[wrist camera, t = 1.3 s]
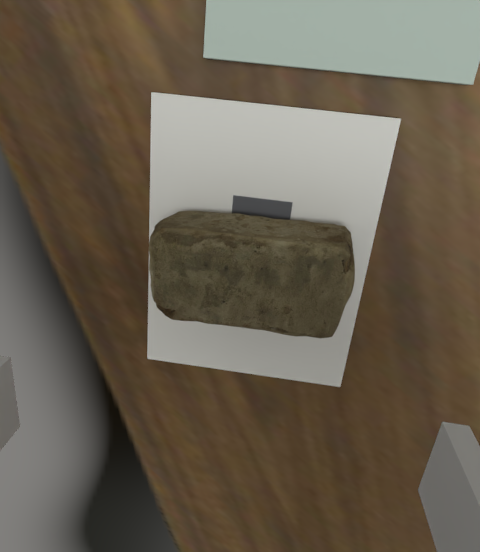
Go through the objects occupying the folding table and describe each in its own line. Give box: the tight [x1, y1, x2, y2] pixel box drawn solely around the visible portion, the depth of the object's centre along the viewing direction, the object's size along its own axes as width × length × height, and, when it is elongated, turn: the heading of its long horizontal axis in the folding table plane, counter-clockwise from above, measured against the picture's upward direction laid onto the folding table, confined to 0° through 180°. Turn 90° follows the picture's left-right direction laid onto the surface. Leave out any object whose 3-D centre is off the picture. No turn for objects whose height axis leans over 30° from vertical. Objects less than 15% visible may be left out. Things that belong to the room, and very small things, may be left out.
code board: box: [147, 92, 401, 387], centre depth 28 cm, size 18×14×1 cm
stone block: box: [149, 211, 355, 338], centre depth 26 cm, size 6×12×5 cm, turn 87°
